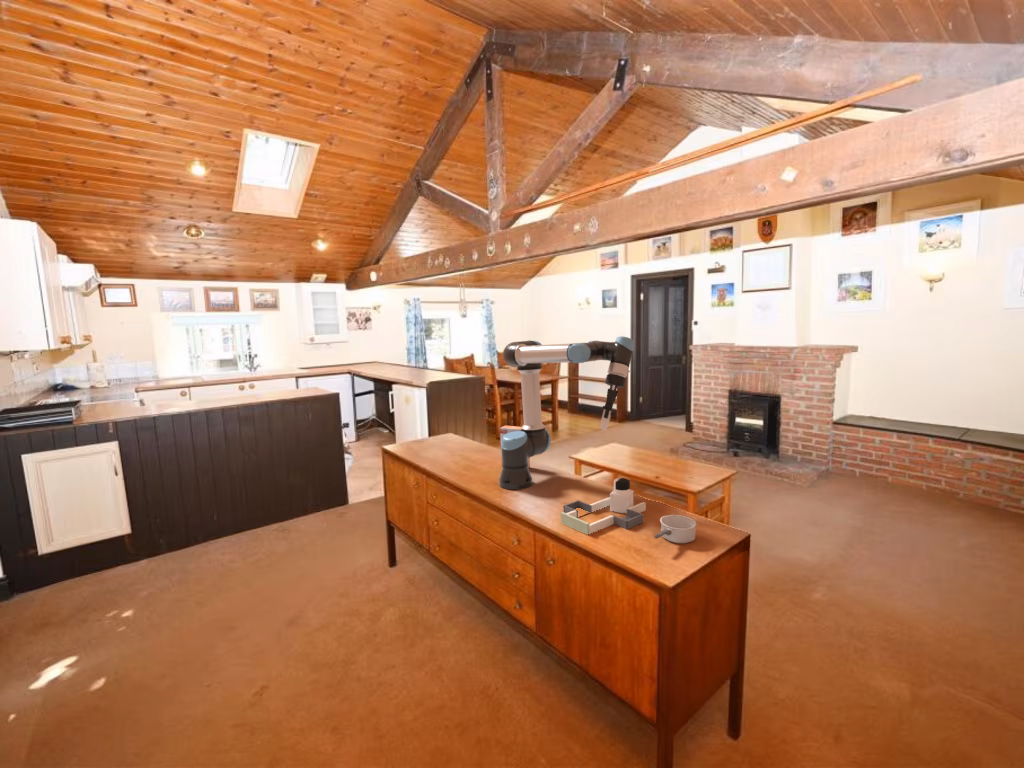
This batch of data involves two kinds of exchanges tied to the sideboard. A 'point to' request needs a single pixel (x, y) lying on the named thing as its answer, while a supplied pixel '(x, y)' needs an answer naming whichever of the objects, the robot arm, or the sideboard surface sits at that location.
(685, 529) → the saucepan
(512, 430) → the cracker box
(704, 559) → the sideboard surface
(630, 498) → the medicine bottle
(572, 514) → the channel
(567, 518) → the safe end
